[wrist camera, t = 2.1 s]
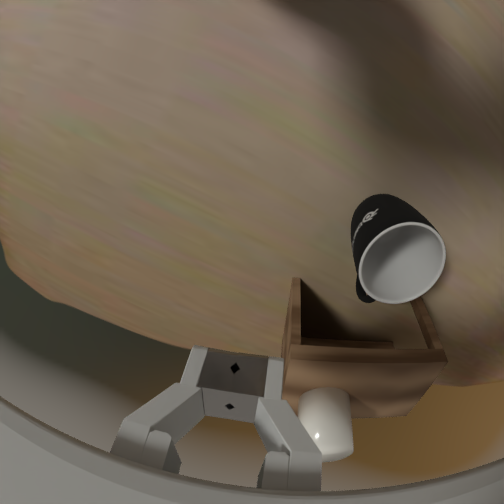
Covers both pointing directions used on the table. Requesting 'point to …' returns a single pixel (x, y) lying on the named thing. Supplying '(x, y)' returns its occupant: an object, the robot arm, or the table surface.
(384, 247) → the mug
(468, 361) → the table surface
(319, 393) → the white cylinder
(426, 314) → the open wooden crate
